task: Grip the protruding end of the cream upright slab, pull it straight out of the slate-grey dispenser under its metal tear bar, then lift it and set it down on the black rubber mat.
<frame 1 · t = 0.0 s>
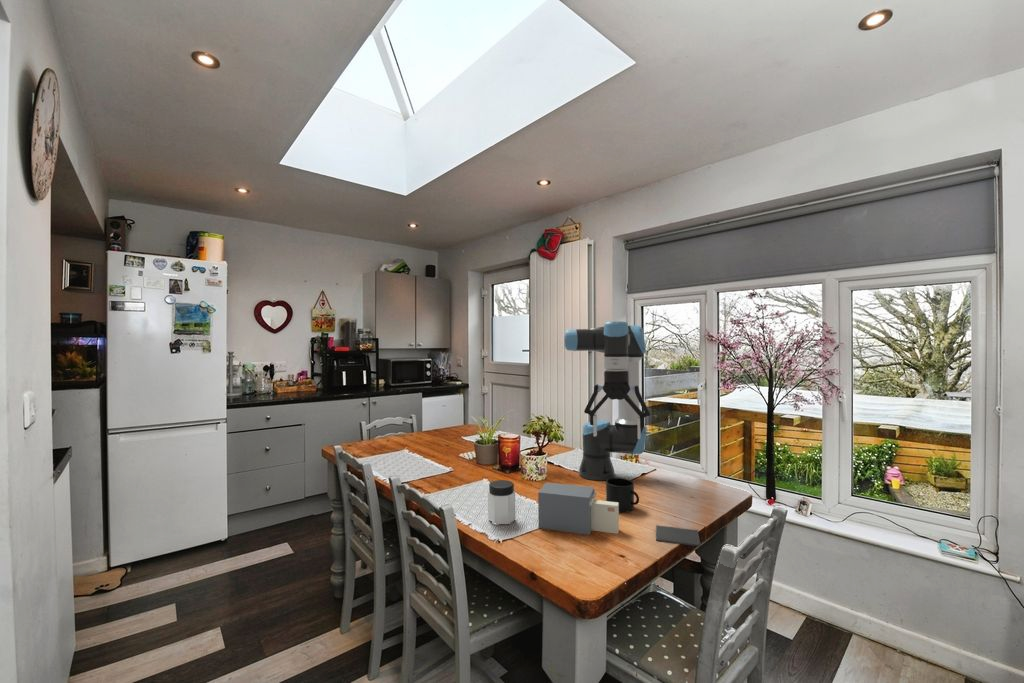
hand: (616, 437, 138), 28 cm above the table, fingers open, 13 cm apart
jar: (501, 521, 142), on the table
mug: (623, 509, 151), on the table
mat: (677, 536, 130), on the table
dispenser: (566, 524, 138), on the table
cream upright slab: (597, 529, 135), on the table
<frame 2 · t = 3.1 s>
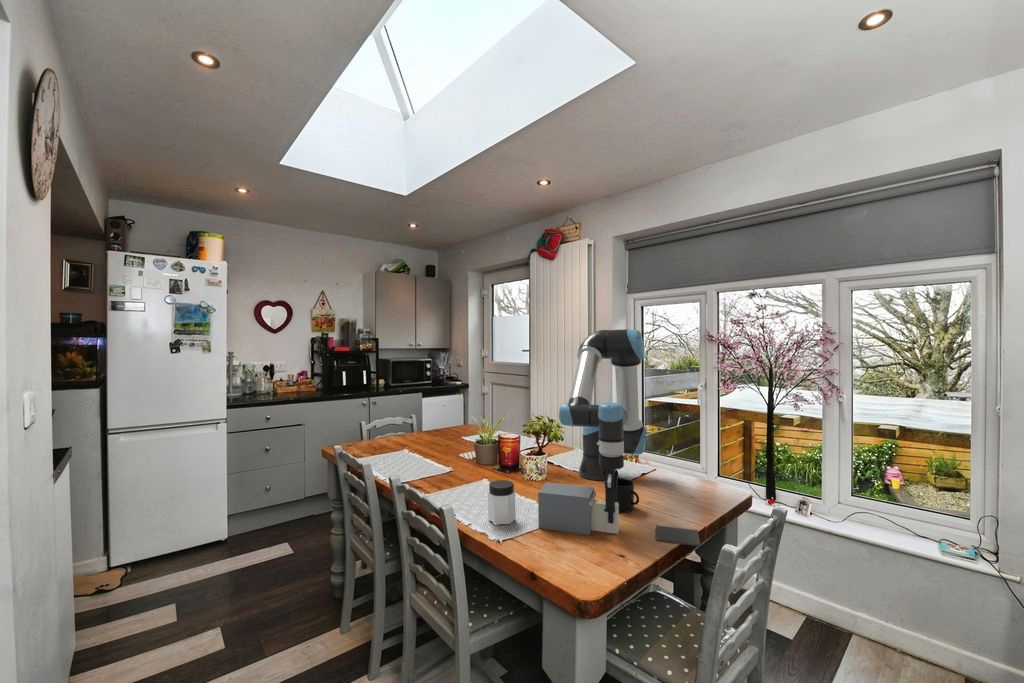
hand: (611, 529, 134), 0 cm above the table, fingers closed on cream upright slab, 3 cm apart
cream upright slab: (596, 528, 135), on the table, touching gripper
everything else where it was.
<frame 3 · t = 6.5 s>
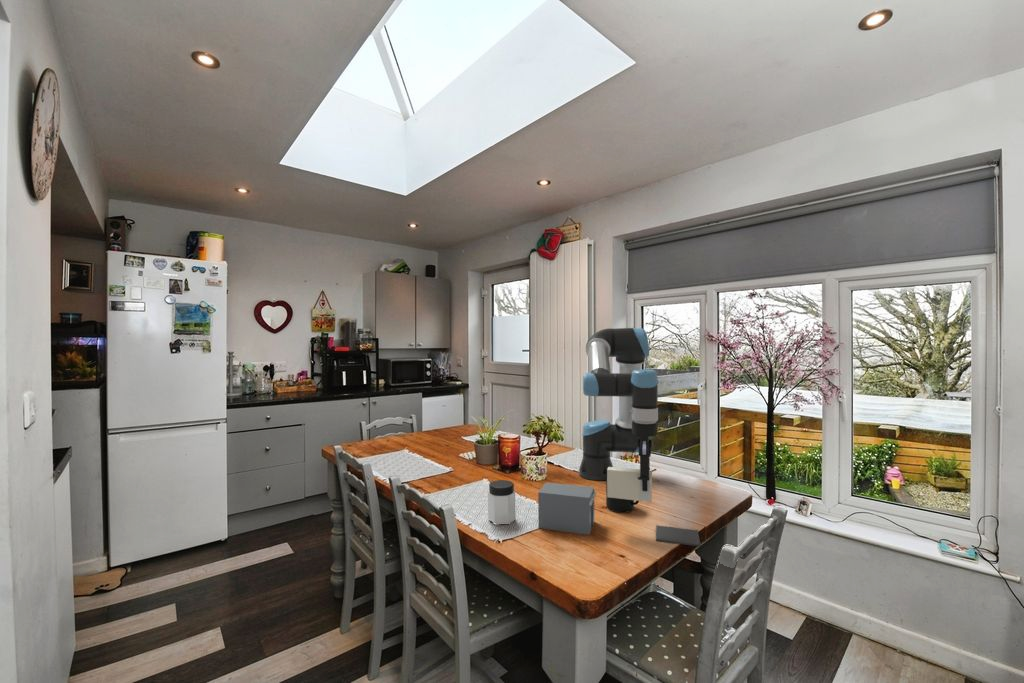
hand: (645, 498, 131), 11 cm above the table, fingers closed on cream upright slab, 3 cm apart
cream upright slab: (629, 497, 133), point 11 cm above the table, touching gripper
everything else where it was.
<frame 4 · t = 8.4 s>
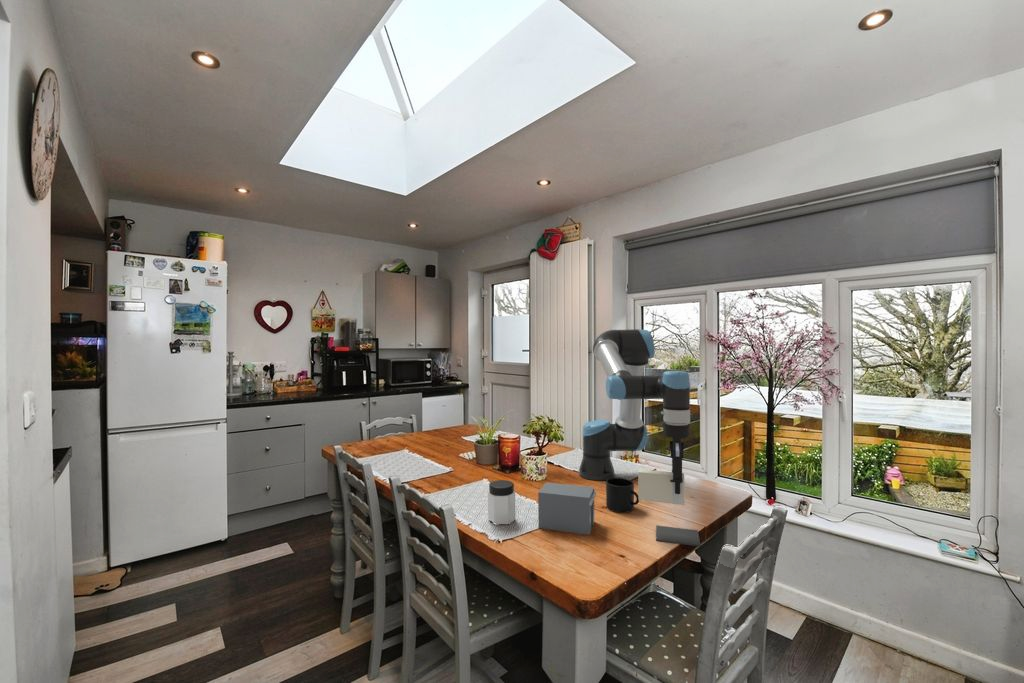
hand: (677, 501, 129), 10 cm above the table, fingers closed on cream upright slab, 3 cm apart
cream upright slab: (661, 500, 131), point 10 cm above the table, touching gripper
everything else where it was.
when the fingers open (2 cm above the table, at t = 10.0 s): cream upright slab stays where it is, resting on mat.
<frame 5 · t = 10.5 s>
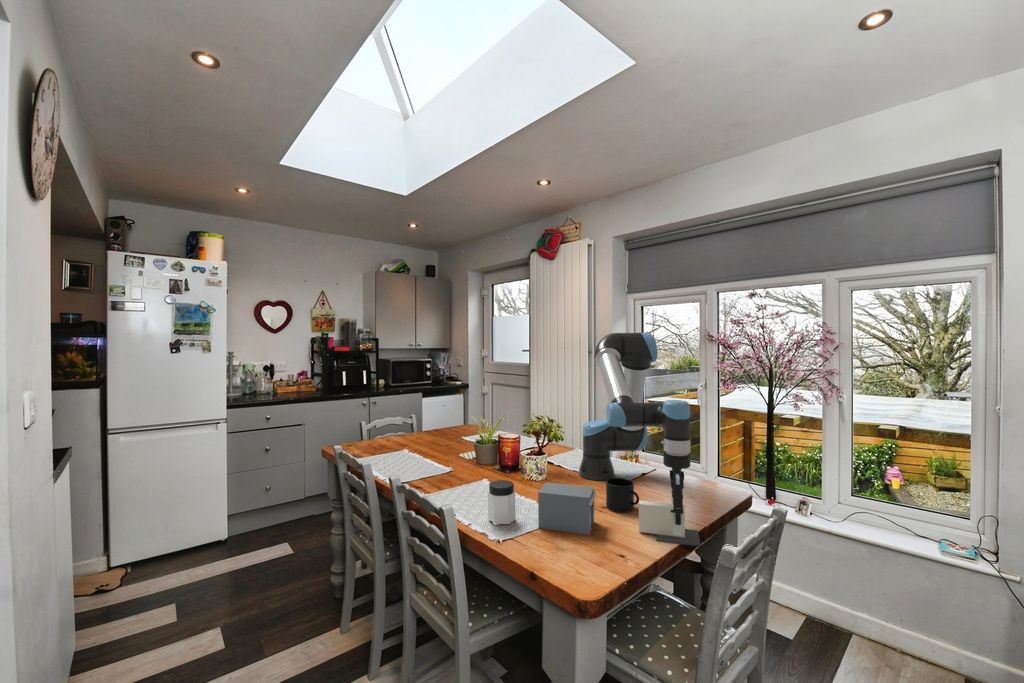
hand: (677, 527, 130), 3 cm above the table, fingers open, 10 cm apart
cream upright slab: (661, 532, 131), resting on mat
everything else where it was.
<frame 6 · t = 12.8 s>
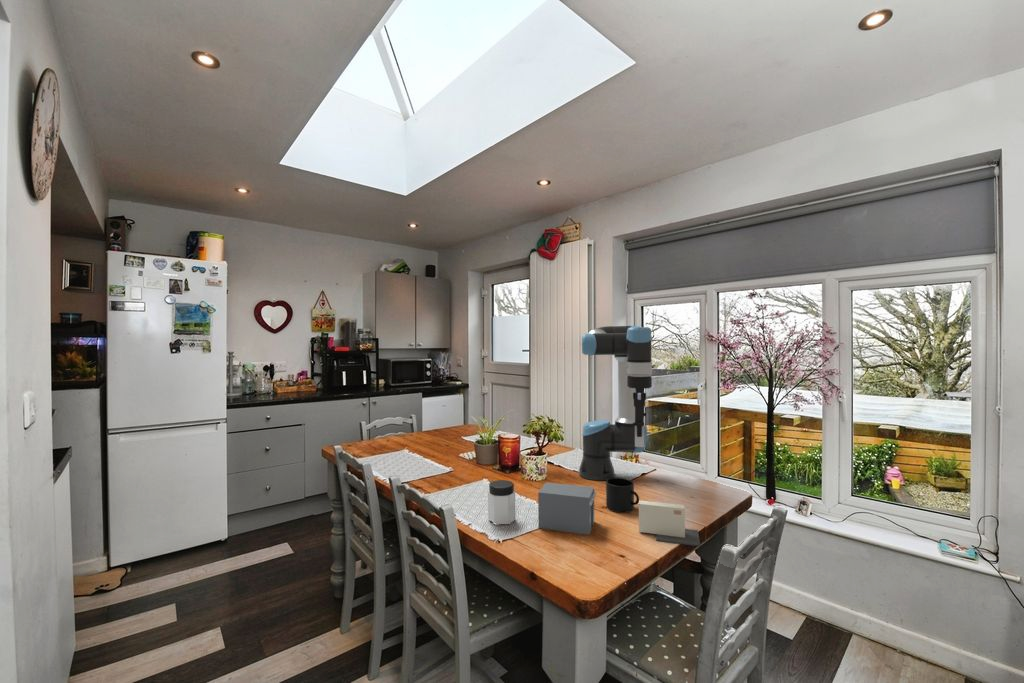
hand: (639, 441, 140), 26 cm above the table, fingers open, 13 cm apart
nothing on the table moved.
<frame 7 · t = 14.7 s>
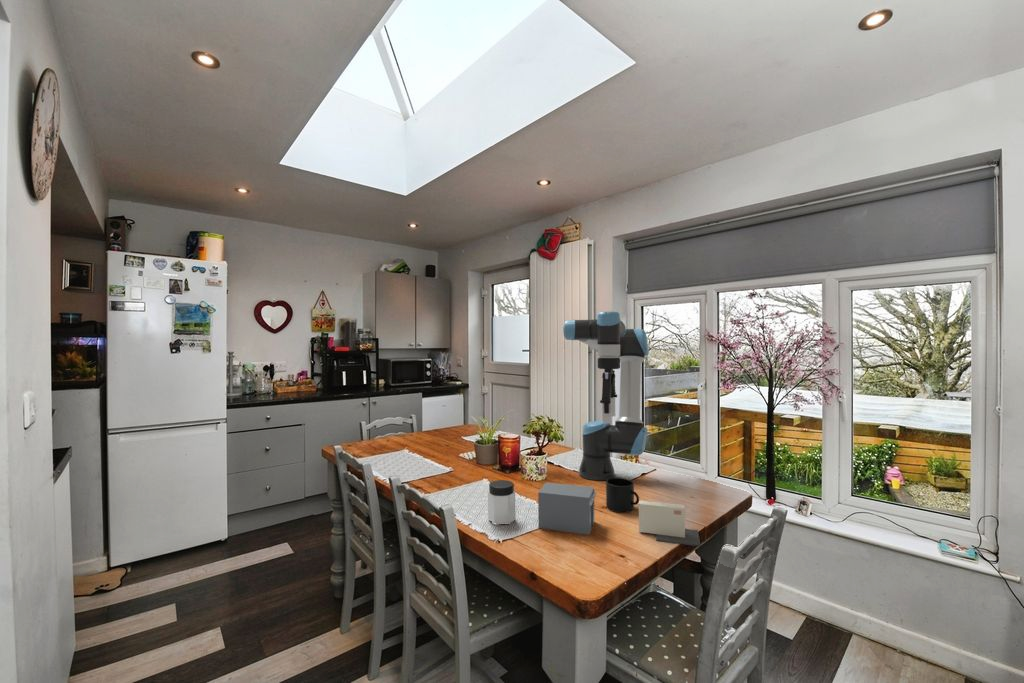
hand: (609, 419, 148), 32 cm above the table, fingers open, 13 cm apart
nothing on the table moved.
at the end: cream upright slab inside the target area on the mat (4.4 cm from its centre), point 0.5 cm above the mat's base; the gripper is holding nothing; cream upright slab touching mat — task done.
